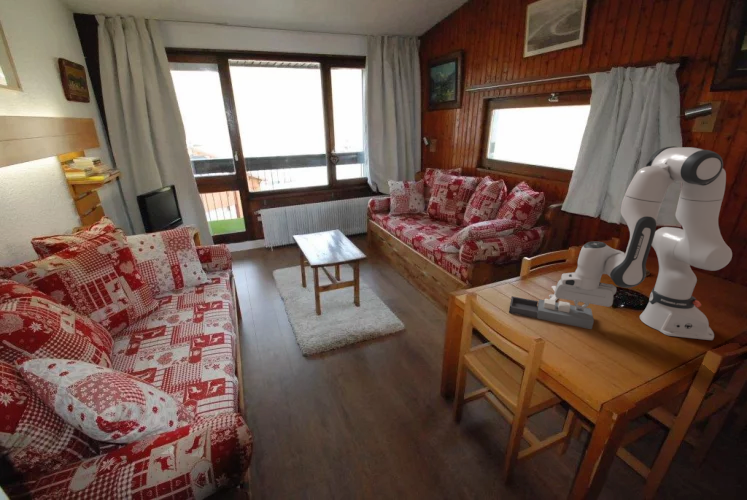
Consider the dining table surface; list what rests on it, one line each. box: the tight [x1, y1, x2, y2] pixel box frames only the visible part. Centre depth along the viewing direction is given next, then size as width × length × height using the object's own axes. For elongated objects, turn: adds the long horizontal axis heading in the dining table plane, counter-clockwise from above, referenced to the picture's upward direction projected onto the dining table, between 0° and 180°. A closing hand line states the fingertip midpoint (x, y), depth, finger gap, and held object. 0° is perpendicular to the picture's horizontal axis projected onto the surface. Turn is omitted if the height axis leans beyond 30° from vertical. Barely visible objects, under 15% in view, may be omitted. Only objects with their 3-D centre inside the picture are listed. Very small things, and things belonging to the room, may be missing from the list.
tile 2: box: [557, 300, 571, 313], centre depth 139 cm, size 4×4×2 cm
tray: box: [508, 296, 539, 319], centre depth 147 cm, size 11×10×3 cm
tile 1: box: [543, 298, 556, 310], centre depth 142 cm, size 4×4×2 cm
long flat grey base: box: [536, 298, 595, 330], centre depth 140 cm, size 20×10×4 cm, turn 64°
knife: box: [548, 285, 559, 302], centre depth 161 cm, size 30×2×8 cm
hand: (579, 310), depth 137 cm, fingers closed
